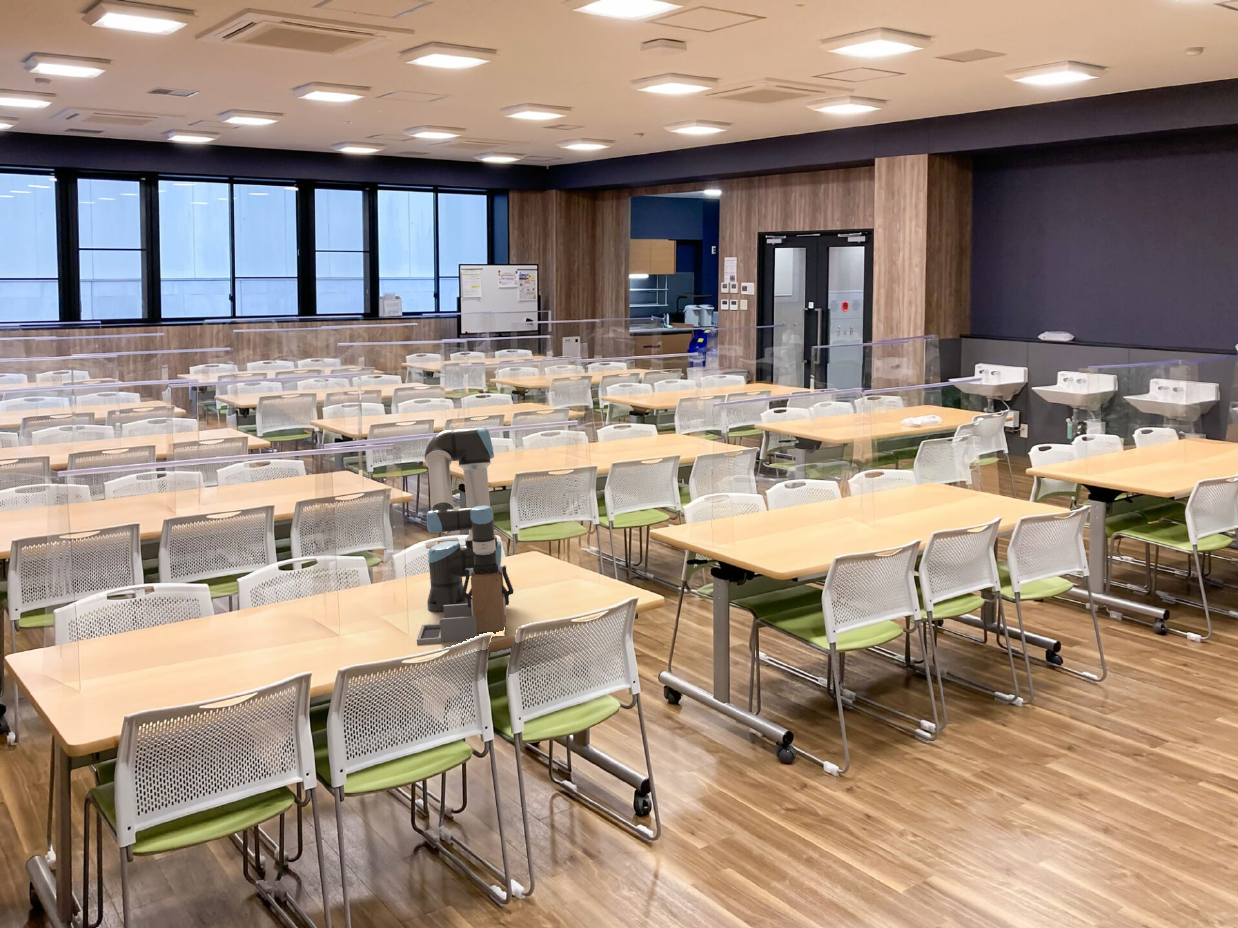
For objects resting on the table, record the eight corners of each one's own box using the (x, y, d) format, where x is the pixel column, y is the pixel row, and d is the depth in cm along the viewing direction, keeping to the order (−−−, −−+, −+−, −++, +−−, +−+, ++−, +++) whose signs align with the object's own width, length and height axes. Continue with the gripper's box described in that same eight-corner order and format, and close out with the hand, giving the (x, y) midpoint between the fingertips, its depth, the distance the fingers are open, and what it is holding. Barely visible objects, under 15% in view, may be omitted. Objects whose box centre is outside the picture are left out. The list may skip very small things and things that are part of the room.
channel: (445, 627, 405) (443, 605, 403) (480, 624, 405) (478, 602, 404) (441, 642, 389) (439, 619, 388) (477, 639, 390) (475, 616, 388)
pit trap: (422, 628, 404) (421, 624, 404) (445, 627, 405) (445, 623, 404) (417, 644, 389) (416, 639, 388) (441, 642, 389) (441, 638, 389)
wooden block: (504, 632, 394) (500, 574, 390) (474, 633, 394) (470, 576, 390) (506, 622, 404) (502, 566, 400) (477, 624, 403) (473, 568, 400)
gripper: (449, 557, 388) (455, 621, 392) (518, 552, 390) (522, 616, 394) (451, 551, 396) (456, 614, 400) (518, 546, 397) (522, 609, 401)
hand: (489, 615), depth 397 cm, fingers closed on wooden block, 10 cm apart
